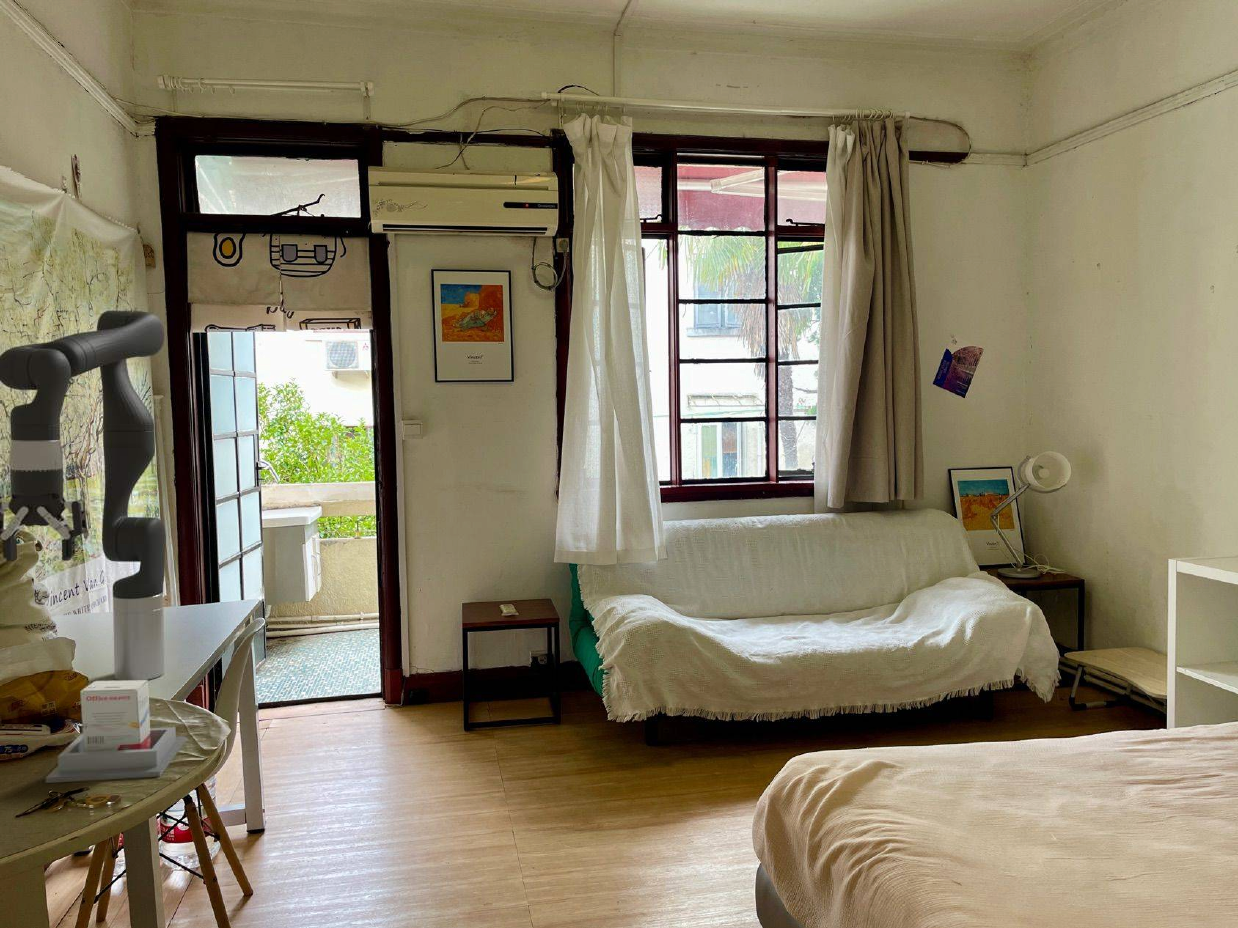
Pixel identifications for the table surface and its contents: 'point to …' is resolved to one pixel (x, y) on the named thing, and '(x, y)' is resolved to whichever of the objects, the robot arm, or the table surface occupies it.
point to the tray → (117, 760)
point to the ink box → (115, 716)
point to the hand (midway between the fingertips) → (39, 560)
